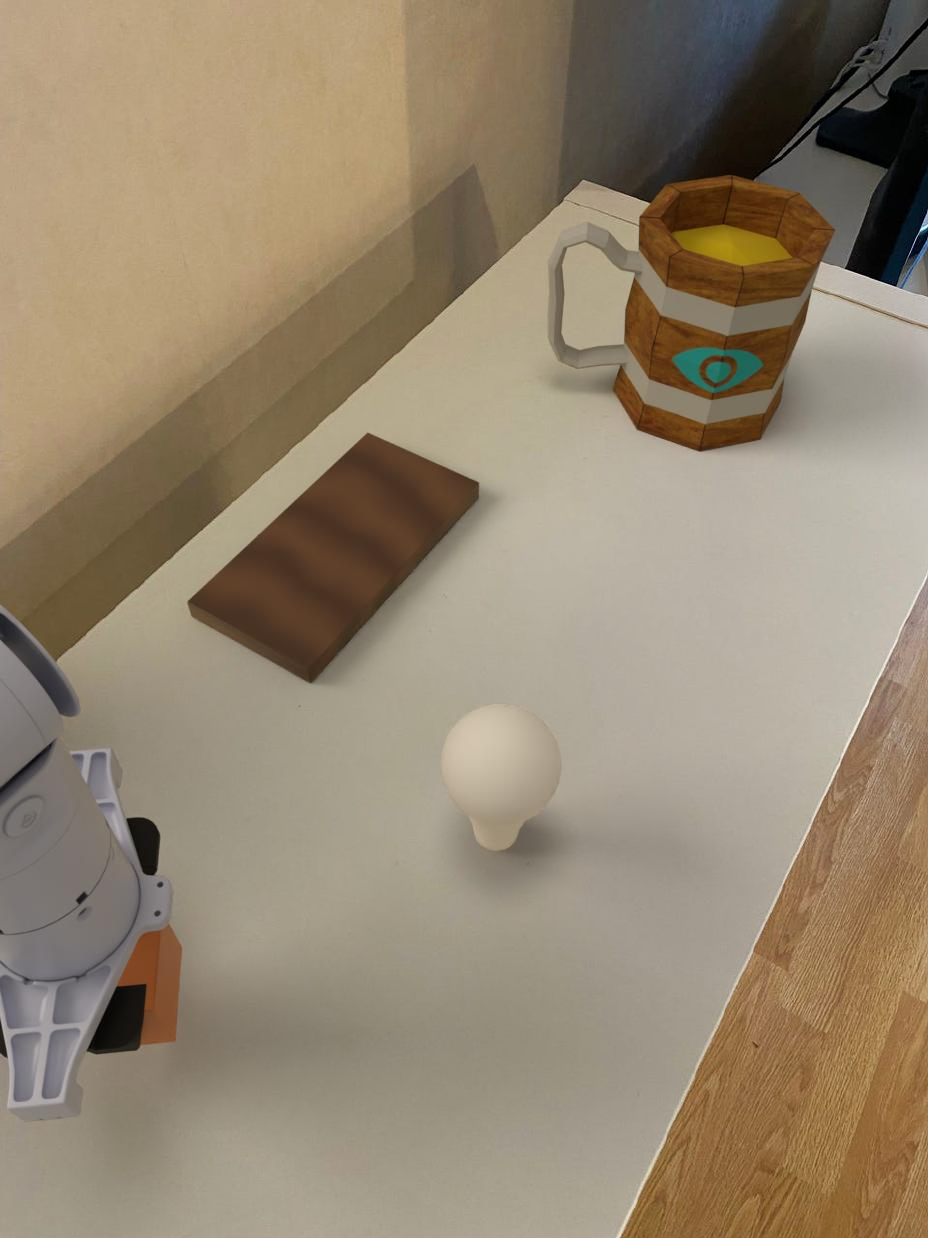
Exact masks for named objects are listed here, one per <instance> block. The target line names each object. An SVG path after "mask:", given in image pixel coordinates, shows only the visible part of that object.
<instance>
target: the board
mask: <svg viewBox="0 0 928 1238" xmlns="http://www.w3.org/2000/svg"><path fill="white" fill-rule="evenodd" d="M479 498H480V481H477V480H475V479H473V478H470V477H468V476H466V475H463V474H461V473H459V472H458V471H455V470H453V469H450V468H448V467H446V466H444V465H441V464H439V463H438V462H434V461H432V460H430V459H428V458H426V457H423V456H421V455H419V454H417V453H415V452H412V451H411V450H408V449H406V448H403V447H401V446H399V445H396V444H395V443H392V442H390V441H389V440H385V439H383V438H381V437H379V436H377V435H374V434H373V433H370V432H366V433H365V434H364V435H363V436H362V437H361V438H360V439H359V440H358V441H357V442H356V443H354V444H353V445H352V446H351V447H350V448H349V449H348V450H347V451H346V452H345V453H344V454H343V455H341V456H340V458H339V459H337V460H336V461H335V462H334V463H333V464H332V465H331V466H330V467H329V468H328V469H327V470H326V471H324V473H323V474H322V475H320V476H319V477H318V478H317V479H316V480H315V481H314V482H313V483H312V484H311V485H310V486H309V487H308V488H307V489H305V490H304V491H303V492H302V493H301V494H300V495H299V496H298V497H297V498H296V499H294V501H293V502H291V504H290V505H288V506H287V507H286V508H285V509H284V510H283V511H282V512H281V513H280V514H279V515H278V516H277V517H276V518H274V520H272V521H271V522H270V523H269V524H268V525H267V526H266V527H265V528H264V529H263V530H262V531H261V532H260V533H259V534H257V536H255V537H254V538H253V539H252V540H251V541H250V542H249V543H248V544H247V545H246V546H245V547H244V548H242V549H241V551H239V553H237V554H236V555H235V556H234V557H233V558H232V559H230V561H229V562H228V563H226V564H225V565H224V567H222V568H221V569H220V570H219V571H218V572H217V573H216V574H215V575H214V576H213V577H212V578H211V579H209V580H208V581H207V583H205V584H204V585H203V586H202V587H201V588H199V590H198V591H197V592H196V593H194V595H193V596H192V597H190V598H189V599H188V600H187V601H186V603H187V606H188V609H189V612H190V616H191V617H192V618H194V619H196V620H198V621H199V622H201V623H203V624H205V625H206V626H208V627H210V628H212V629H214V630H216V631H217V632H219V633H221V634H223V635H224V636H226V637H228V638H230V639H232V640H233V641H235V642H236V643H239V644H240V645H242V646H244V647H245V648H248V649H249V650H251V651H252V652H255V653H257V654H258V655H260V656H261V657H263V658H265V659H267V660H269V661H271V662H272V663H274V664H276V665H278V666H279V667H281V668H282V669H285V670H287V671H289V672H290V673H292V674H293V675H295V676H297V677H299V678H301V679H302V680H304V681H306V682H308V683H309V684H310V683H312V682H313V681H314V680H315V679H316V678H317V677H318V676H319V674H321V672H322V671H323V670H324V669H325V668H326V667H327V666H328V665H329V664H330V662H331V661H332V660H333V659H334V658H335V657H336V656H337V655H338V654H339V653H340V651H341V650H342V649H343V648H344V647H345V646H346V645H347V644H348V643H349V641H350V640H351V639H352V638H353V637H354V636H355V635H356V634H357V633H358V631H359V630H360V629H361V628H362V627H363V626H364V625H365V624H366V623H367V622H368V620H369V619H370V618H371V617H372V616H373V615H374V613H376V611H378V610H379V608H380V607H381V606H382V605H383V604H384V602H386V601H387V599H388V598H389V597H390V596H391V595H392V594H393V593H394V591H395V590H396V589H398V587H399V586H400V585H401V584H402V583H403V582H404V581H405V579H406V578H407V577H408V576H409V575H411V573H412V572H413V570H414V569H415V568H417V566H418V565H419V564H420V563H421V562H422V561H423V559H425V558H426V556H427V555H428V554H429V553H430V552H431V551H432V549H434V548H435V547H436V545H438V543H439V542H440V541H441V540H442V539H443V537H444V536H445V535H446V534H447V533H448V532H449V531H450V530H451V529H452V527H454V525H455V524H456V523H457V522H458V521H459V520H460V519H461V517H463V515H464V514H465V513H466V512H467V511H468V510H469V509H470V508H471V506H472V505H473V504H474V503H475V502H476V501H477V500H478V499H479Z"/></svg>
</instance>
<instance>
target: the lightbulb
mask: <svg viewBox="0 0 928 1238" xmlns="http://www.w3.org/2000/svg"><path fill="white" fill-rule="evenodd" d="M440 753H441V754H440V775H441V781H442V783H443V786H444V788H445V790H446V792H447V794H448V797H449V798H450V800H451V801H452V803H453V804H454V805H455V807H456V808H458V809H459V810H460V811H461V812H462V813H463V814H465V815H467V816H468V818H469V821H470V823H471V825H472V829H473V835H474V838H475V840H476V841H477V843H478V844H479V845H480V846H481V847H483V848H485V849H486V850H489V851H492V852H498V851H504V850H507V849H509V848H510V847H511V846H512V845H513V844H515V842H516V841H517V839H518V836H519V833H520V829H521V828H522V827H523V825H524V824H525V821H528V820H530V819H532V818H533V817H535V816H537V815H538V814H539V813H540V812H542V811H543V809H545V808H546V807H547V805H548V804H549V803H550V801H551V800H552V798H553V796H554V795H555V794H556V792H557V789H558V787H559V784H560V781H561V775H562V768H563V765H562V763H563V762H562V755H561V750H560V747H559V743H558V740H557V739H556V737H555V735H554V734H553V732H552V730H551V728H550V727H549V726H548V725H547V723H546V722H545V720H543V719H542V718H540V717H539V716H538V715H537V714H535V713H534V712H532V711H530V710H528V709H526V708H523V707H521V706H517V705H514V704H509V703H493V704H487V705H483V706H481V707H478V708H475V709H473V710H471V711H469V712H468V713H466V714H465V715H463V716H462V717H461V718H460V719H459V720H458V721H457V722H456V723H455V725H453V727H452V728H451V729H450V731H449V732H448V734H447V737H446V738H445V741H444V742H443V745H442V749H441V752H440Z"/></svg>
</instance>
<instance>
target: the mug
mask: <svg viewBox="0 0 928 1238" xmlns="http://www.w3.org/2000/svg"><path fill="white" fill-rule="evenodd" d="M638 217H639V218H638V250H630V249H627V248H625V247H624V246H623V245H621V243H620V242H619V241H618V240H617V239H616V238H615V236H614V235H613V234H612V233H611V232H610V231H609V230H608V229H606V228H604V227H601V226H599V225H596V224H594V223H591V222H589V221H586V222H581V223H580V224H576V225H573V226H570V227H567V228H564V229H562V230H561V232H560V234H559V235H558V238H557V241H556V243H555V245H554V247H553V249H552V251H551V253H550V255H549V258H548V260H547V264H548V265H547V269H548V291H549V292H548V301H547V302H548V303H547V305H548V306H547V339H548V343H549V345H550V347H551V349H552V351H553V353H554V356H555V358H556V360H557V362H560V363H562V364H564V365H566V366H568V367H571V368H574V369H575V370H580V369H589V368H595V367H605V366H607V367H608V366H619V367H618V370H617V374H616V378H615V381H614V384H613V387H612V390H613V392H614V394H615V396H616V397H617V399H618V400H619V402H620V403H621V405H622V408H623V409H624V411H625V412H626V414H627V415H628V417H629V419H630V420H631V422H632V424H633V425H634V427H635V428H636V430H637V431H640V432H642V433H645V434H649V435H651V436H655V437H657V438H660V439H663V440H666V441H669V442H671V443H674V444H677V445H680V446H683V447H685V448H689V449H691V450H695V451H698V452H705V451H708V450H709V451H710V450H713V449H718V448H723V447H724V448H725V447H729V446H734V445H737V444H738V445H739V444H743V443H748V442H754V441H760V440H761V439H762V437H763V435H764V434H765V431H766V430H767V428H768V426H769V425H770V423H771V420H772V418H773V417H774V415H775V413H776V412H777V409H778V408H779V406H780V404H781V402H782V396H783V389H784V383H785V377H786V373H787V371H788V368H789V365H790V362H791V359H792V356H793V352H794V350H795V348H796V345H797V343H798V341H799V338H800V336H801V333H802V331H803V329H804V327H805V324H806V320H807V315H808V310H809V305H810V301H811V296H812V291H813V287H814V284H815V281H816V278H817V275H818V273H819V269H820V266H821V263H822V261H823V258H824V256H825V253H826V251H827V250H828V247H829V244H830V243H831V241H832V238H833V236H834V233H835V231H836V228H834V226H832V225H831V223H829V222H828V220H827V219H825V218H824V216H822V215H821V213H819V211H817V210H816V208H815V207H813V206H812V204H811V203H810V202H809V201H808V200H807V199H806V198H805V197H804V196H803V195H802V194H801V193H800V192H797V191H795V190H794V191H793V190H791V189H785V188H782V187H779V186H774V185H771V184H767V183H763V182H759V181H756V180H752V179H748V178H744V177H740V176H736V175H733V174H729V175H727V174H726V175H722V176H715V177H706V178H700V179H693V180H687V181H686V180H685V181H681V182H672V183H666V184H665V185H664V187H663V188H662V189H661V190H660V191H659V193H658V194H657V195H656V196H655V197H654V198H653V200H652V201H651V202H650V204H649V205H648V206H647V207H646V208H645V209H644V211H642V213H641V214H640V215H639V216H638ZM584 243H586V244H588V245H590V246H592V247H594V248H596V249H599V250H600V251H601V252H602V253H603V255H604V256H605V257H606V258H607V259H608V260H609V262H610V263H611V264H612V265H613V266H615V267H616V268H617V269H618V270H620V271H622V272H628V273H634V275H633V280H632V282H631V287H630V290H629V294H628V299H627V302H626V305H625V309H624V337H623V343H621V344H609V345H608V344H607V345H596V346H592V347H587V348H582V349H578V348H575V347H574V346H571V345H569V344H566V341H565V339H564V336H563V334H562V332H563V331H562V329H563V317H564V316H563V315H564V303H565V293H566V292H565V283H564V282H565V281H564V272H563V264H564V259H565V256H566V254H567V250H568V248H571V247H575V246H578V245H581V244H584Z"/></svg>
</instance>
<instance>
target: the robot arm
mask: <svg viewBox="0 0 928 1238" xmlns="http://www.w3.org/2000/svg"><path fill="white" fill-rule="evenodd" d="M71 683H72V682H70V680H69V678H68V677H67V675H66V674H65V672H64V671H63V670H62V668H61V667H60V666H59V664H58V663H57V661H56V660H55V659H54V658H53V656H52V655H51V654H50V653H49V652H48V651H47V649H46V648H45V647H44V646H43V645H42V644H41V642H39V641H38V639H37V638H36V637H35V636H34V635H33V634H32V633H31V631H30V630H28V628H26V627H25V626H24V625H23V624H22V622H20V621H19V620H18V619H17V618H16V617H15V616H14V614H12V613H11V612H10V611H8V610H7V608H5V607H4V606H3V605H2V604H0V1055H1V1056H2V1057H4V1058H6V1059H7V1062H8V1063H7V1064H8V1071H9V1076H8V1077H9V1078H8V1079H9V1080H8V1081H9V1082H8V1083H9V1084H8V1085H9V1087H8V1095H7V1101H6V1102H7V1103H6V1110H8V1111H9V1112H10V1113H12V1114H13V1115H15V1117H17V1118H18V1119H20V1120H21V1121H22V1122H24V1123H33V1122H44V1121H53V1120H62V1119H71V1118H72V1119H73V1118H78V1117H80V1116H81V1112H82V1111H81V1110H82V1103H83V1095H84V1090H83V1087H82V1086H81V1085H80V1084H79V1083H77V1077H78V1073H79V1071H80V1067H81V1065H82V1062H83V1060H84V1057H85V1055H86V1053H90V1054H93V1055H97V1056H98V1055H108V1054H117V1053H127V1052H136V1051H138V1050H139V1049H140V1047H141V1045H140V1044H141V1033H142V1027H143V1021H144V1011H145V1000H146V989H147V984H138V985H128V986H117V984H118V982H119V980H120V978H121V976H122V973H123V971H124V969H125V967H126V965H127V963H128V961H129V958H130V956H131V954H132V952H133V950H134V948H135V946H136V943H137V941H138V939H139V938H140V936H142V935H143V934H144V933H146V932H150V931H158V930H161V929H164V928H165V927H166V926H167V925H168V924H170V922H171V920H172V913H173V903H174V901H173V900H174V887H173V885H172V882H171V880H170V879H169V878H168V877H167V876H166V875H161V874H156V873H157V872H158V868H159V857H160V856H159V855H160V847H161V846H160V845H161V833H160V831H159V830H160V829H158V826H157V825H156V824H155V822H154V821H153V820H151V819H149V818H147V817H144V816H142V817H141V816H136V817H135V816H133V817H126V813H125V810H124V806H123V804H122V800H121V797H120V794H119V791H118V790H119V788H121V785H122V780H123V779H122V778H123V772H124V771H123V768H122V765H121V764H120V762H119V760H118V758H117V756H116V753H115V751H114V749H113V748H112V747H103V748H92V749H90V748H89V749H78V750H69V749H68V747H67V745H66V743H65V741H64V739H63V738H62V736H61V734H62V733H63V732H64V722H63V719H62V716H63V717H67V718H75V717H77V716H79V715H80V712H81V703H80V700H79V697H78V695H77V692H76V691H75V688H74V686H73V685H72V684H71ZM116 986H117V987H116Z"/></svg>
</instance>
